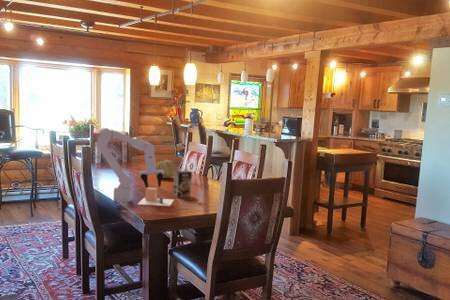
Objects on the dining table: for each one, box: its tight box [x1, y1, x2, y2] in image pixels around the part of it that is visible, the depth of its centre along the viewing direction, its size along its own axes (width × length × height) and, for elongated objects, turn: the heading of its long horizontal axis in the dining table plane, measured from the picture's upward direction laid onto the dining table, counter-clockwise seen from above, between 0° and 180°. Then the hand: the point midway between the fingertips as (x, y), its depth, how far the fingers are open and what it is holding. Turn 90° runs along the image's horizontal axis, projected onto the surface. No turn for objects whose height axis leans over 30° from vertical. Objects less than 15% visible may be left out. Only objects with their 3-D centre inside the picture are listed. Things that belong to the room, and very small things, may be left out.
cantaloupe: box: [156, 159, 176, 179], centre depth 328 cm, size 15×15×15 cm
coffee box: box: [172, 170, 192, 198], centre depth 263 cm, size 9×6×16 cm
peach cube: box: [144, 186, 158, 201], centre depth 248 cm, size 6×6×6 cm
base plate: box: [137, 197, 175, 207], centre depth 243 cm, size 18×17×1 cm
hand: (153, 186), depth 247 cm, fingers open, 7 cm apart
